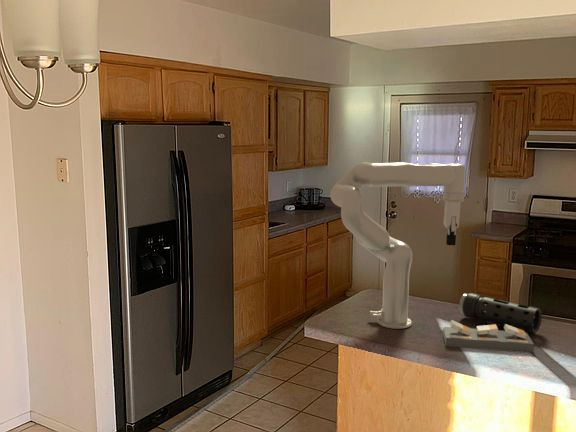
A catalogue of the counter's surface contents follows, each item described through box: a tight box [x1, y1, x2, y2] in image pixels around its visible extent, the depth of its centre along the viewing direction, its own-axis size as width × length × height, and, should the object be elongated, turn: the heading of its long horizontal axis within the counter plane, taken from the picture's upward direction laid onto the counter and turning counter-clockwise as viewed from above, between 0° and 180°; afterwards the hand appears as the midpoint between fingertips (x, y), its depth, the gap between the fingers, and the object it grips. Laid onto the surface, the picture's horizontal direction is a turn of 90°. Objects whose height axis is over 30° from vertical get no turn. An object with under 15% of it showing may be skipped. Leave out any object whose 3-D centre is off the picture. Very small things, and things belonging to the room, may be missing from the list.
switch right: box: [503, 324, 526, 339], centre depth 194 cm, size 6×5×2 cm
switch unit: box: [442, 326, 535, 354], centre depth 196 cm, size 28×11×4 cm, turn 80°
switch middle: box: [476, 324, 499, 334], centre depth 196 cm, size 6×5×2 cm
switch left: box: [449, 319, 471, 336], centre depth 198 cm, size 6×5×2 cm
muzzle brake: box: [458, 292, 543, 336], centre depth 213 cm, size 10×28×10 cm, turn 47°
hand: (450, 244), depth 217 cm, fingers closed
